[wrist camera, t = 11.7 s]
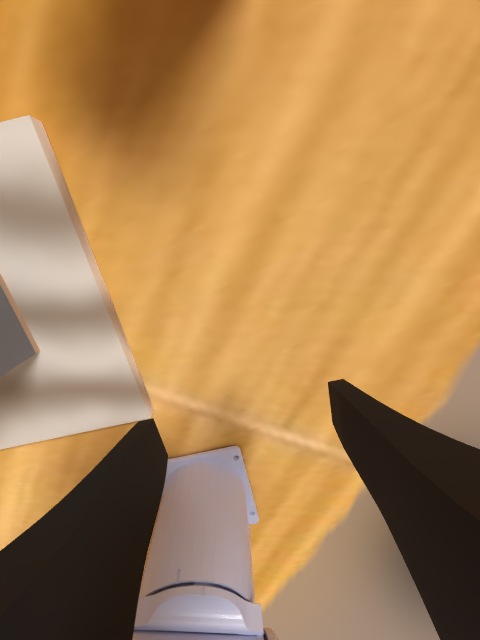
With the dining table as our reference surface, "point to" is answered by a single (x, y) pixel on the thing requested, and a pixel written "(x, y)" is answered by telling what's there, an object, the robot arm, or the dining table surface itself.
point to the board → (57, 305)
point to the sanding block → (13, 333)
